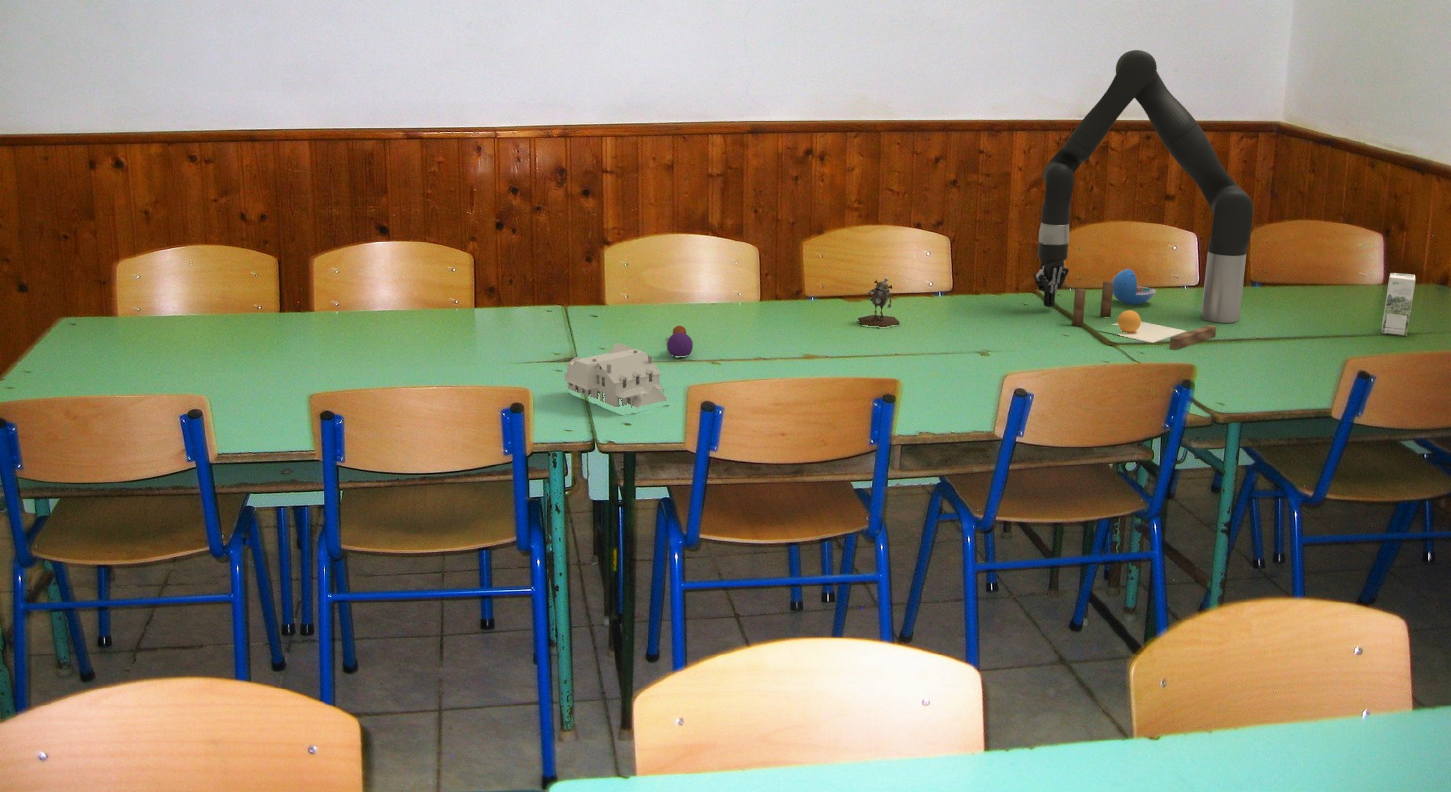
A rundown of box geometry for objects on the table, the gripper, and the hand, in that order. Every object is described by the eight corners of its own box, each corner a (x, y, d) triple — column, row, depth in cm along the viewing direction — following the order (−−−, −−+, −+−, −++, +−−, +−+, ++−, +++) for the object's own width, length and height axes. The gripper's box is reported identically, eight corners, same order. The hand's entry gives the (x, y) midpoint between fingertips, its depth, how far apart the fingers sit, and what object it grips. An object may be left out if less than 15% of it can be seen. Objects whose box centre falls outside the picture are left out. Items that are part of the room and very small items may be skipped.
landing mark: (1129, 319, 353) (1129, 319, 353) (1187, 331, 342) (1187, 330, 342) (1094, 330, 343) (1094, 329, 343) (1152, 343, 332) (1152, 342, 332)
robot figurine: (851, 325, 347) (852, 278, 344) (862, 317, 355) (863, 271, 352) (894, 330, 343) (896, 282, 340) (904, 321, 351) (906, 275, 348)
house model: (615, 420, 275) (614, 372, 273) (559, 397, 290) (558, 351, 287) (689, 401, 287) (689, 356, 284) (632, 380, 302) (631, 336, 299)
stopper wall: (1207, 334, 339) (1208, 324, 339) (1215, 336, 338) (1216, 326, 337) (1169, 348, 328) (1170, 337, 327) (1177, 349, 326) (1178, 339, 325)
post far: (1103, 315, 358) (1106, 280, 355) (1112, 316, 356) (1115, 282, 354) (1098, 316, 356) (1101, 282, 354) (1106, 318, 355) (1109, 284, 352)
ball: (1149, 322, 339) (1136, 335, 343) (1138, 304, 341) (1125, 318, 345) (1132, 324, 336) (1120, 338, 340) (1121, 306, 338) (1109, 320, 342)
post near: (1076, 323, 350) (1078, 288, 347) (1084, 325, 348) (1087, 290, 345) (1070, 324, 348) (1072, 289, 345) (1079, 326, 346) (1081, 291, 344)
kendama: (693, 322, 334) (695, 337, 315) (689, 346, 336) (690, 362, 316) (669, 318, 334) (669, 332, 314) (665, 342, 335) (664, 358, 316)
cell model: (1161, 307, 366) (1165, 272, 363) (1119, 309, 364) (1122, 273, 361) (1144, 299, 376) (1147, 264, 373) (1102, 300, 374) (1105, 265, 371)
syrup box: (1406, 331, 343) (1415, 273, 339) (1406, 336, 338) (1415, 278, 334) (1381, 328, 346) (1389, 271, 341) (1381, 334, 340) (1389, 276, 336)
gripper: (1056, 235, 363) (1051, 299, 368) (1026, 241, 354) (1021, 307, 359) (1080, 239, 357) (1075, 304, 363) (1051, 245, 349) (1046, 313, 354)
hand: (1048, 306), depth 361 cm, fingers closed
